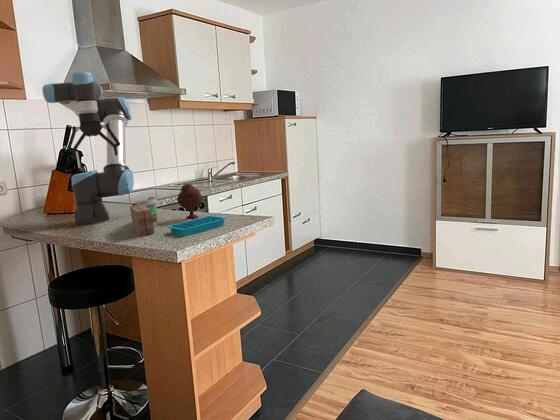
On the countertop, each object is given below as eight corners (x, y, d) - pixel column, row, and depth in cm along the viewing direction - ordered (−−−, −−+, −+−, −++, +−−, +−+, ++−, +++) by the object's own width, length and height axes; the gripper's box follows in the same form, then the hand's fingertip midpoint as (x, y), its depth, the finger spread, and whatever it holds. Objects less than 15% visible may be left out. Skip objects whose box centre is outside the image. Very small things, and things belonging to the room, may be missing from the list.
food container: (151, 224, 180) (148, 201, 178) (138, 225, 181) (134, 202, 179) (164, 218, 192) (161, 196, 190) (152, 218, 193) (149, 197, 191)
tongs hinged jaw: (140, 226, 175) (137, 205, 174) (146, 225, 176) (143, 204, 175) (147, 234, 160) (144, 210, 159) (154, 232, 162) (150, 209, 160)
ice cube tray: (228, 225, 166) (227, 218, 165) (183, 238, 152) (182, 229, 152) (211, 222, 174) (210, 215, 174) (167, 234, 161) (166, 226, 160)
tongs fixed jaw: (132, 227, 177) (128, 204, 176) (142, 225, 179) (139, 202, 177) (140, 236, 159) (136, 210, 157) (152, 234, 161) (148, 208, 159)
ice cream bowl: (174, 221, 183) (169, 186, 180) (190, 215, 192) (185, 182, 190) (194, 221, 178) (189, 185, 175) (209, 215, 188) (205, 181, 185)
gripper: (53, 114, 162) (64, 169, 166) (122, 109, 173) (130, 162, 177) (53, 115, 168) (63, 169, 172) (119, 111, 179) (127, 161, 183)
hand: (97, 165), depth 175 cm, fingers open, 13 cm apart
